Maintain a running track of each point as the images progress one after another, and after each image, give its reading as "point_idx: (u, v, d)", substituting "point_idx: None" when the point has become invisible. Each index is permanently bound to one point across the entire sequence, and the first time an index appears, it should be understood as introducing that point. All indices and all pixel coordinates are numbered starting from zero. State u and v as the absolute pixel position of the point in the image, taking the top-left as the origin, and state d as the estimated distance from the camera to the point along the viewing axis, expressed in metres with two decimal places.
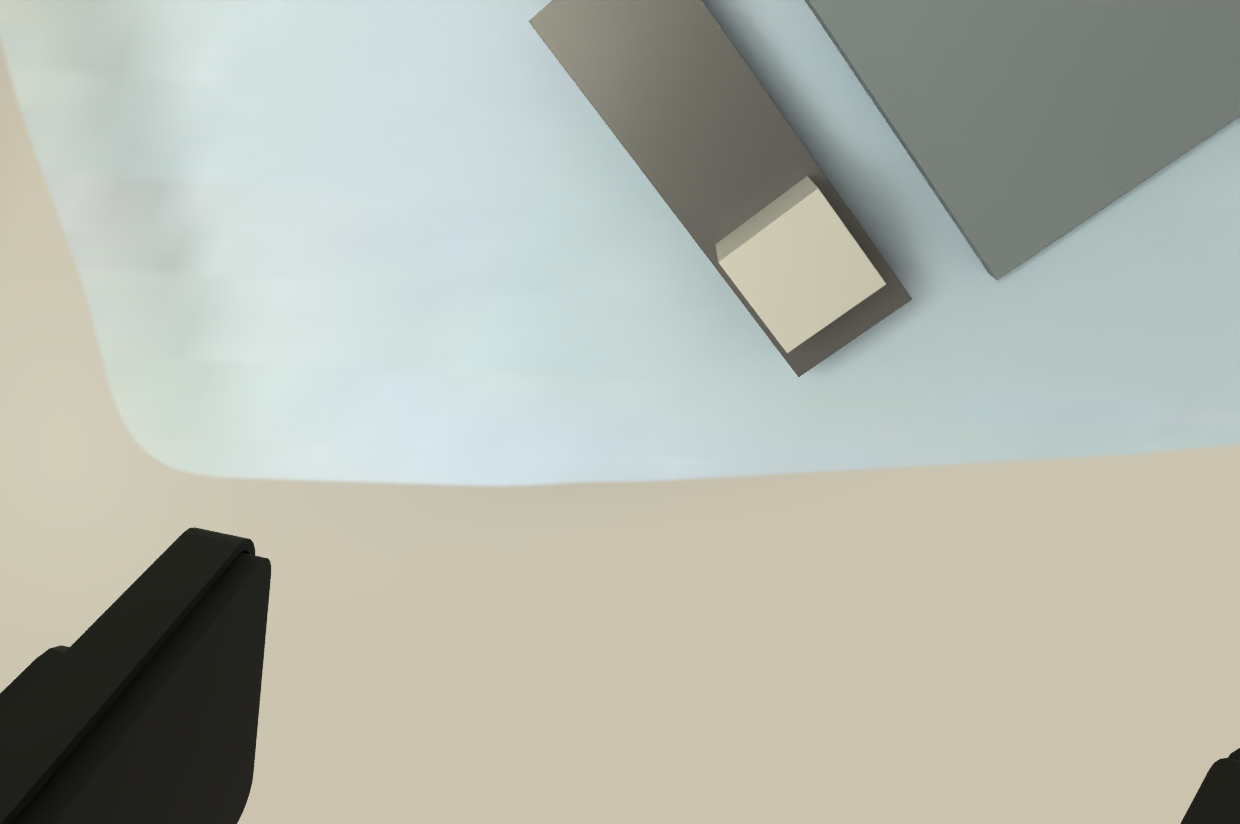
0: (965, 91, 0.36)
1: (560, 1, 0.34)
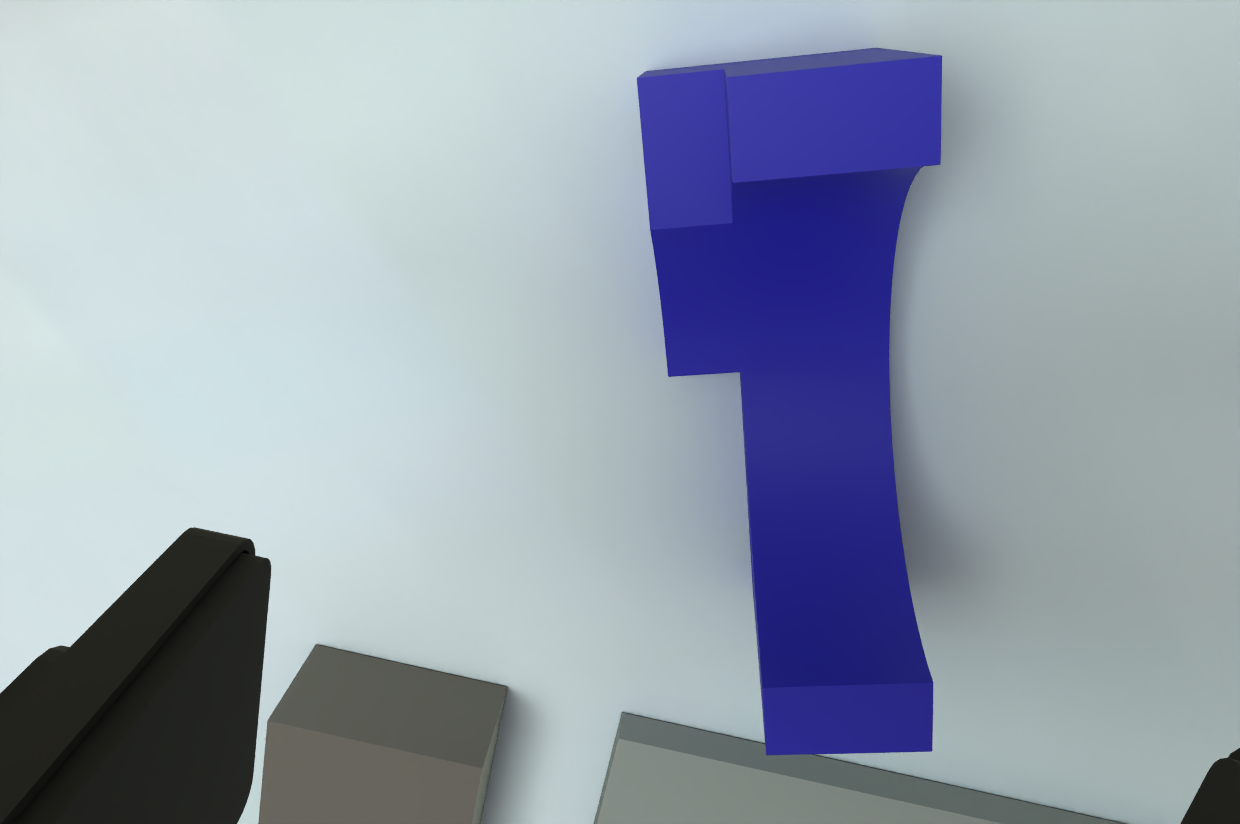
0: None
1: (321, 738, 0.23)
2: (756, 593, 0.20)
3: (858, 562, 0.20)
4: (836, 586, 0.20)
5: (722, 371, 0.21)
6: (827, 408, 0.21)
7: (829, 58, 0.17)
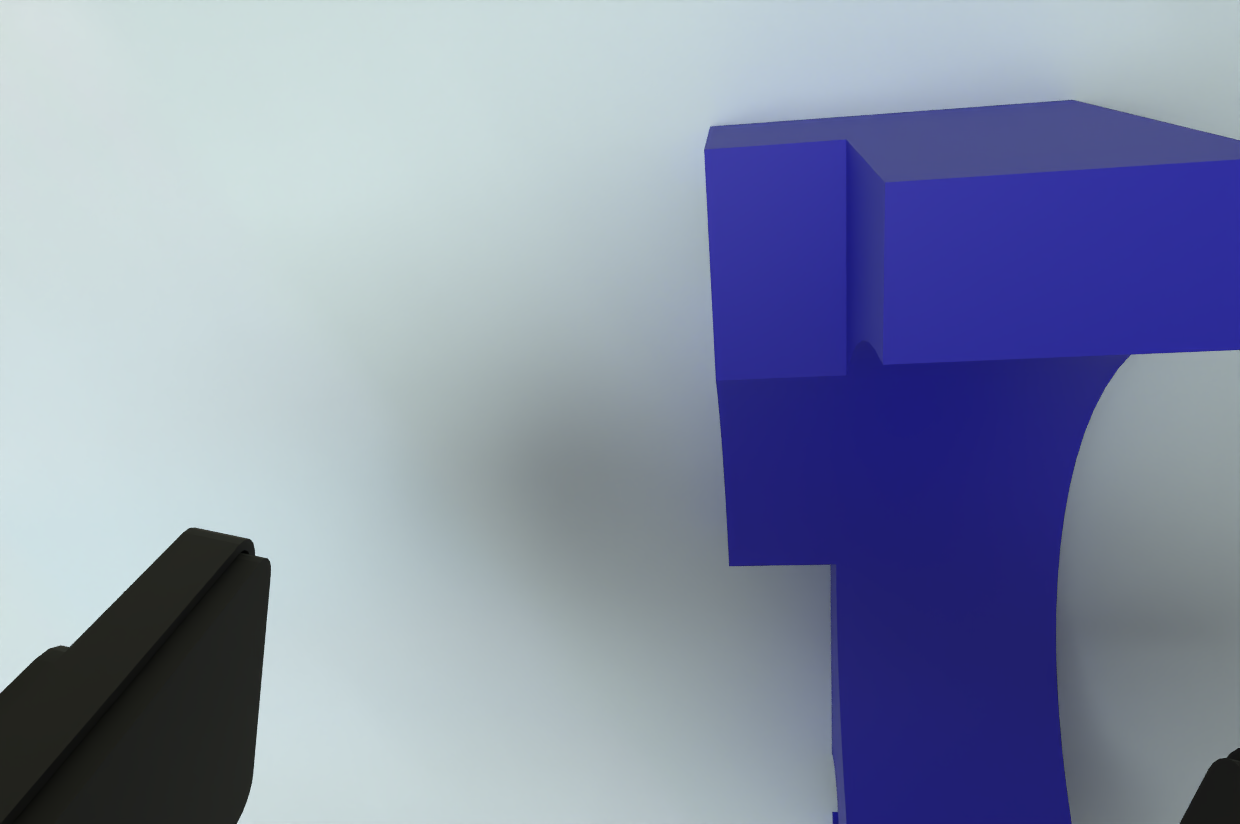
0: None
1: None
2: None
3: None
4: None
5: (807, 560, 0.14)
6: (962, 620, 0.14)
7: (1022, 126, 0.10)
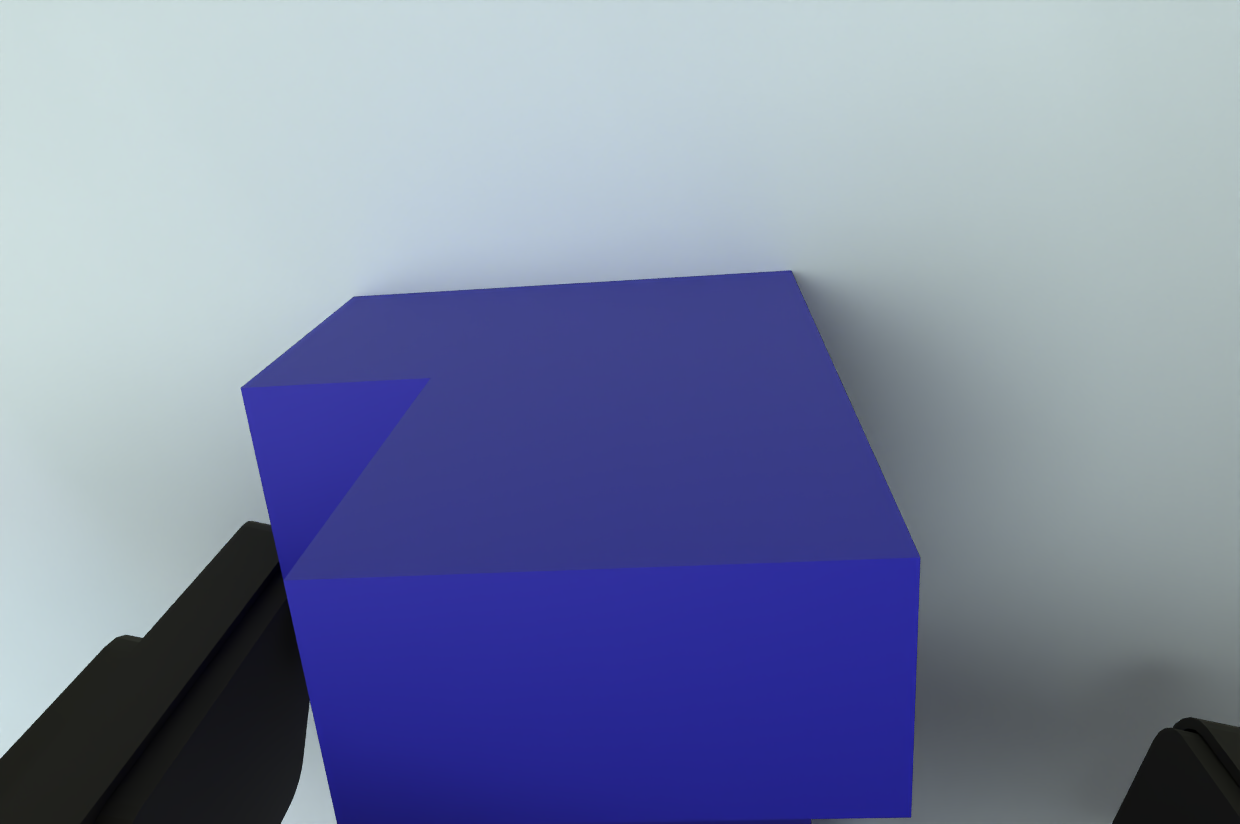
0: None
1: None
2: None
3: None
4: None
5: None
6: None
7: (664, 365, 0.07)
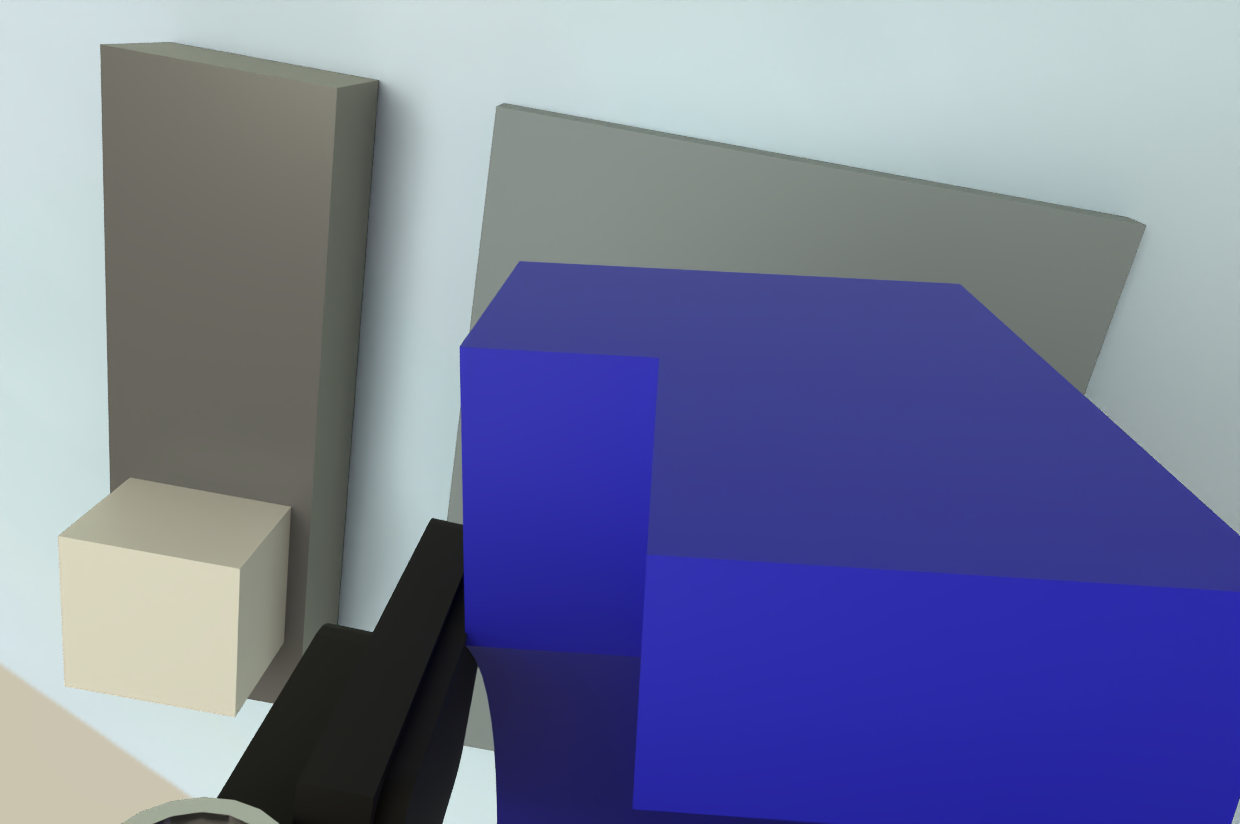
0: None
1: (160, 64, 0.21)
2: None
3: None
4: None
5: (598, 823, 0.11)
6: None
7: (900, 371, 0.07)
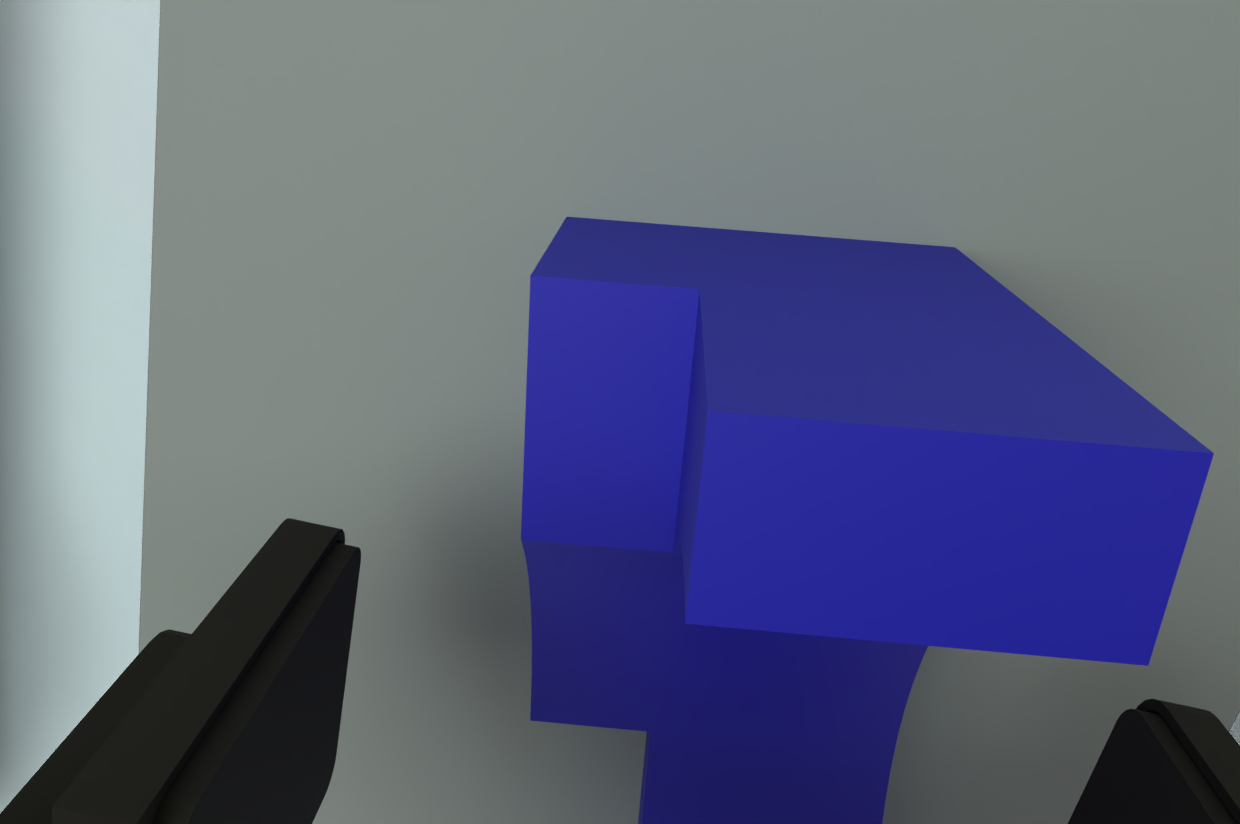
0: None
1: None
2: None
3: None
4: None
5: (620, 721, 0.12)
6: (782, 807, 0.13)
7: (902, 305, 0.09)
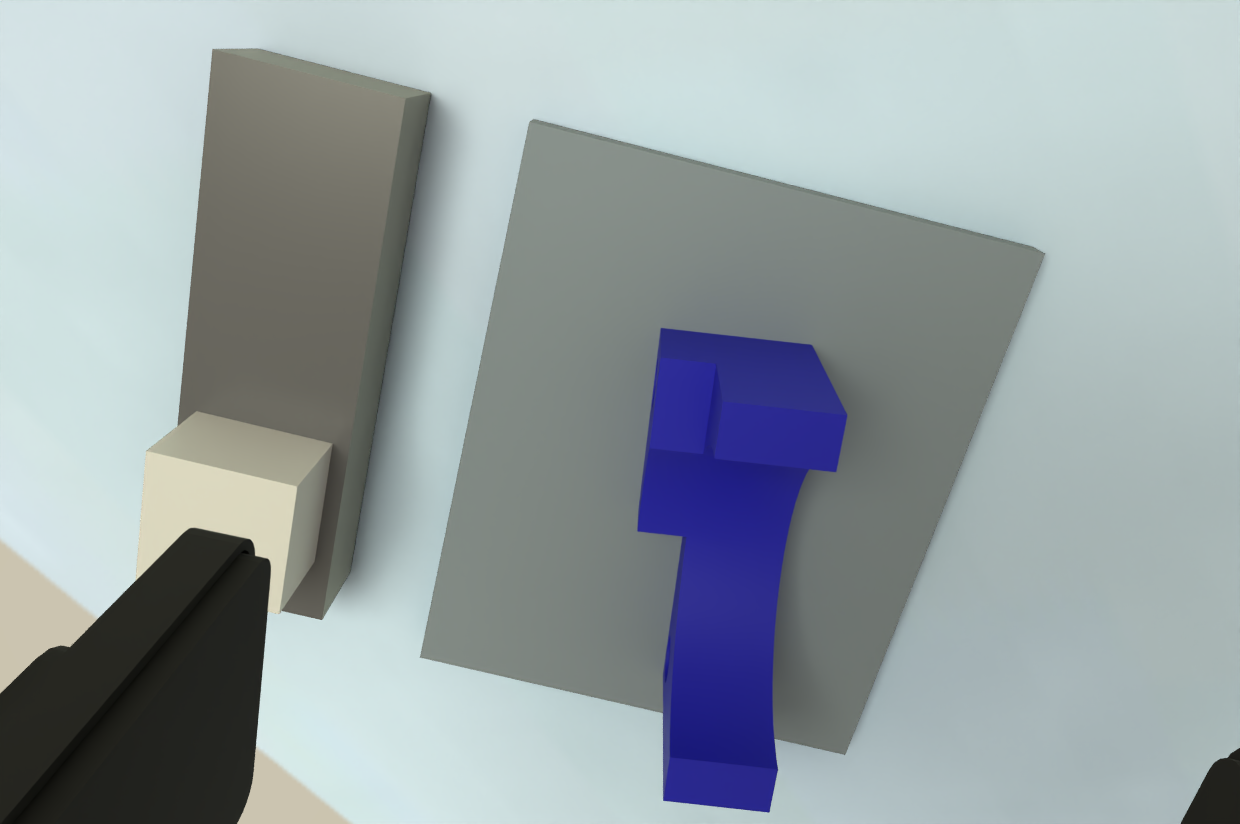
0: (537, 503, 0.32)
1: (260, 69, 0.25)
2: (672, 690, 0.29)
3: (742, 678, 0.30)
4: (725, 693, 0.29)
5: (674, 533, 0.30)
6: (739, 570, 0.30)
7: (782, 371, 0.27)
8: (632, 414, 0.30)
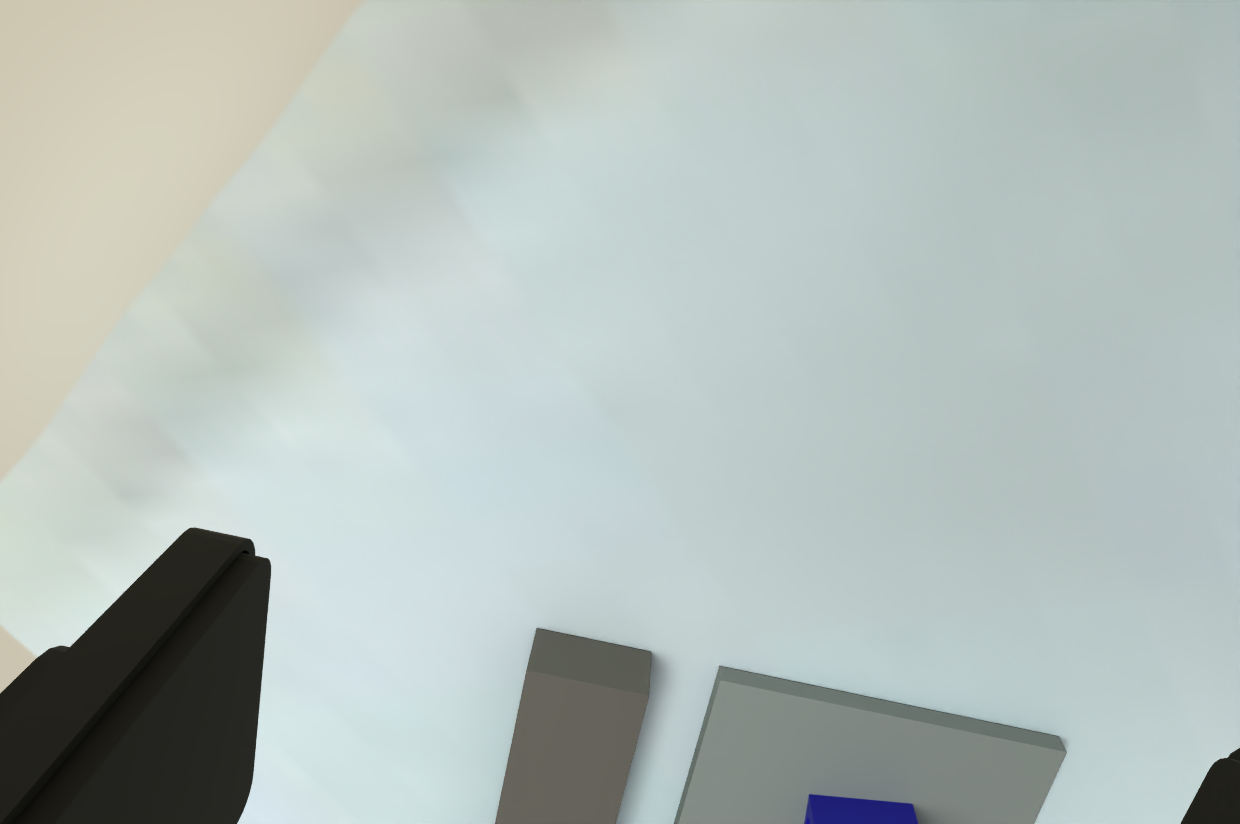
0: None
1: (556, 679, 0.40)
2: None
3: None
4: None
5: None
6: None
7: None
8: None
